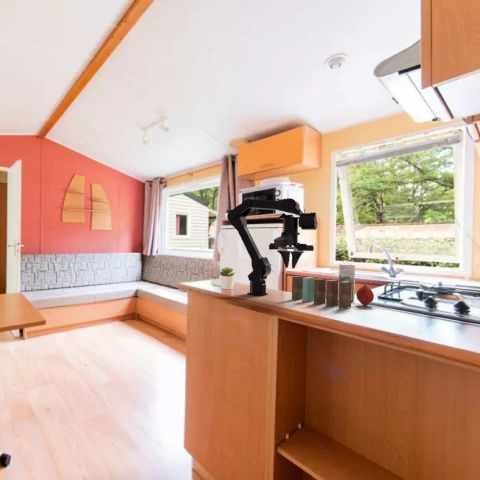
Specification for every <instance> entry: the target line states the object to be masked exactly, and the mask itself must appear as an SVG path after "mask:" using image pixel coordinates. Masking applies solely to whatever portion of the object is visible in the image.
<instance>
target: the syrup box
mask: <svg viewBox="0 0 480 480" xmlns="http://www.w3.org/2000/svg"><path fill="white" fill-rule="evenodd" d="M355 276H356V264H355V263H341V262H340V263H339V264H338V283H339V282H344V281H349V282H351V302H354V301H355V285H356V284H355V282H356V281H355V280H356V277H355Z"/></svg>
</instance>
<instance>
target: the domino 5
mask: <svg viewBox="0 0 480 480" xmlns="http://www.w3.org/2000/svg"><path fill="white" fill-rule="evenodd" d="M348 307H351V308H352V301H351V282H349V281H344V282H339V281H338V309H340V308H344V309H343V310H346V309H345V308H347V309H349V308H348Z"/></svg>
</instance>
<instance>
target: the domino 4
mask: <svg viewBox="0 0 480 480" xmlns="http://www.w3.org/2000/svg"><path fill="white" fill-rule="evenodd" d="M335 305H336V306H339V279H331V280H330V279H329V280H327V279H326V303H325V306H326V307H330V306H332V307H336V306H335Z"/></svg>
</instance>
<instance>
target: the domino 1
mask: <svg viewBox="0 0 480 480" xmlns="http://www.w3.org/2000/svg"><path fill="white" fill-rule="evenodd" d="M303 278H305V277H304V276H302V275H296V276H292V277H291V300H292V301H300V300H302V294H303Z"/></svg>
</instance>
